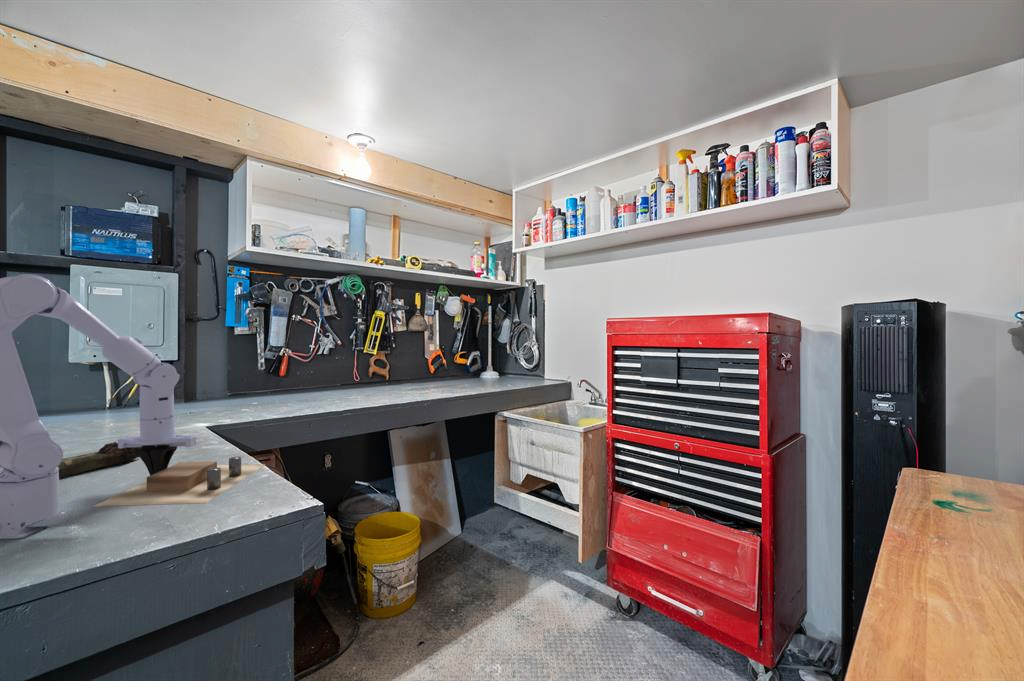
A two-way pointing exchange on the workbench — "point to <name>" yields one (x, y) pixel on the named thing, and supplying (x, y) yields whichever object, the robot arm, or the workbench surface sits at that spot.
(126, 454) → the mossy wood log
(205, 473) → the walnut plate
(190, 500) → the bench board
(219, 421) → the workbench surface
